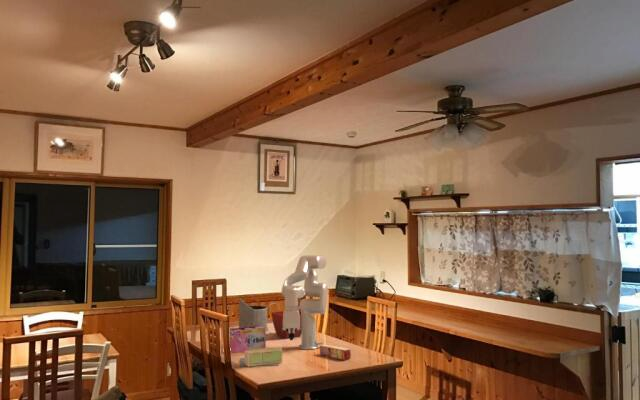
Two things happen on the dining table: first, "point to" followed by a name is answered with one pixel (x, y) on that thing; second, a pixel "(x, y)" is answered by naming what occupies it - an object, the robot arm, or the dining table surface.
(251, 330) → the gum box
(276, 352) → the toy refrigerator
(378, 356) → the dining table surface
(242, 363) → the mat
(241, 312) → the pitcher
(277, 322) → the plant pot
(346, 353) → the snack package
